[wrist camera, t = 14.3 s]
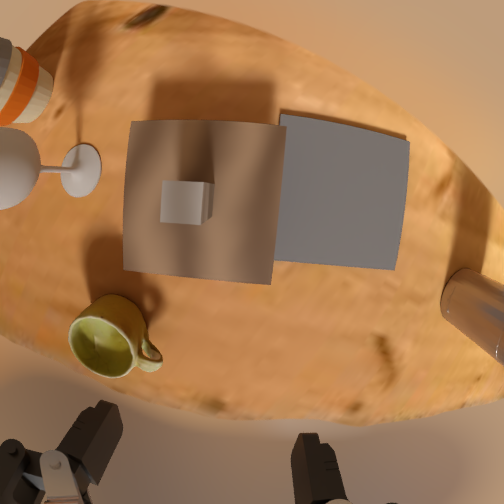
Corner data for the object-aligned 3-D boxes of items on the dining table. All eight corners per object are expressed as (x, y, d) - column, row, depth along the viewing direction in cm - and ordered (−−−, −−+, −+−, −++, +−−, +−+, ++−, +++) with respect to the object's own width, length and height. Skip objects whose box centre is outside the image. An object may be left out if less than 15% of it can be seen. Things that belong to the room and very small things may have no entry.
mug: (74, 334, 33) (55, 361, 24) (100, 276, 35) (83, 289, 25) (143, 371, 37) (143, 407, 28) (172, 318, 38) (178, 342, 29)
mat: (406, 142, 29) (409, 141, 29) (391, 268, 33) (394, 270, 32) (280, 115, 29) (280, 113, 28) (266, 257, 33) (266, 259, 32)
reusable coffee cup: (12, 88, 26) (-44, 72, 11) (61, 49, 25) (6, 16, 10) (13, 147, 28) (-53, 144, 14) (64, 109, 28) (-8, 86, 13)
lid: (285, 128, 24) (297, 107, 17) (270, 282, 27) (276, 311, 20) (134, 123, 23) (102, 106, 17) (126, 267, 27) (95, 289, 20)
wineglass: (112, 171, 30) (-21, 166, 10) (76, 210, 31) (-48, 239, 11) (86, 131, 29) (-35, 103, 8) (53, 170, 30) (-65, 173, 9)
